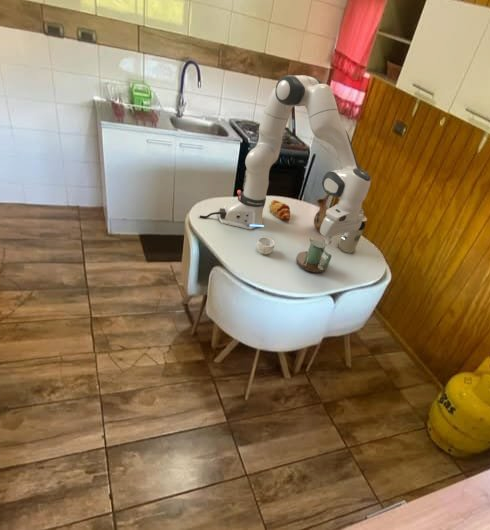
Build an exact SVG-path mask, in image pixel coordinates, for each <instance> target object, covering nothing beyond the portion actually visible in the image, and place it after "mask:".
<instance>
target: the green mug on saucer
mask: <svg viewBox="0 0 490 530" xmlns="http://www.w3.org/2000/svg"><path fill="white" fill-rule="evenodd" d="M309 241H310V244H309V247H308V250H306V251H300V252H298V253H297V254H296V258H295V261H296V263H297V264H298V265H299V266H300V267H301V268H302V269H303V268H304V269H303V270H305V269H306V270H305V271H307V270H308V271H307V272H309V271H311V272H310V273H314V272H316V273H323V272H325V271H326V270H327V269H328V267H329V264H330V262H331V259H332V257H333V256H332V254H331V253H328V252H327V251H326V246H327V244H326V243H325V241H322V240H320V239H316V238H315V237H311V238H309ZM323 255H325V256H326V258H325V257H324V256H323Z"/></svg>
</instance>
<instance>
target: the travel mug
mask: <svg viewBox="0 0 490 530" xmlns="http://www.w3.org/2000/svg"><path fill="white" fill-rule="evenodd" d="M367 221H368V217H366V215H364V214H363V220H362V223H361V226H360V228H359V229H358V230H356V231H352V232H351V234H350V235H349V236H348V237H347V240H342V239H341V238H340V240H339V243H338V245H337V246H338V248H339V249H340V251H343V252H344V253H348V254H349V253H350V254H351V253H354V252H355V250H356V248H357V245H358V244H359V240H360V239H361V237H362V235H363V232H364V229H365V227H366V222H367ZM342 235H344V233H343V234H342Z"/></svg>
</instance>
